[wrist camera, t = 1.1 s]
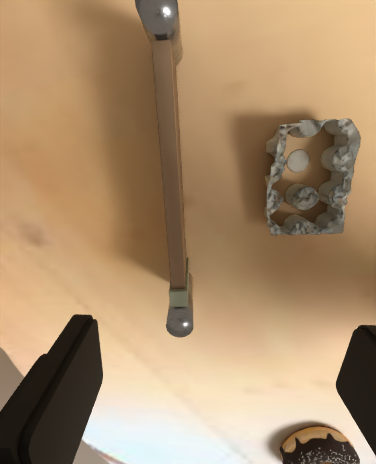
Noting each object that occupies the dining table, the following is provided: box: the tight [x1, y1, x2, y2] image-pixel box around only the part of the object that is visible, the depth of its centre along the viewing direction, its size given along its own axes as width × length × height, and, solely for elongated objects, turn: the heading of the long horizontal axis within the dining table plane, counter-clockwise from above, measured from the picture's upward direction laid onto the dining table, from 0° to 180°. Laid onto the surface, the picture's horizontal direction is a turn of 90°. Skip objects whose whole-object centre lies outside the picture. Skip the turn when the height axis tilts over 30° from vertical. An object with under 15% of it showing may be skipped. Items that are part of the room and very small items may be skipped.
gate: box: [152, 40, 189, 307], centre depth 21 cm, size 2×20×7 cm, turn 3°
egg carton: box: [264, 119, 361, 235], centre depth 23 cm, size 11×8×4 cm
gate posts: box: [135, 0, 193, 337], centre depth 21 cm, size 2×25×8 cm, turn 3°
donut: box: [280, 426, 360, 464], centre depth 37 cm, size 11×12×4 cm
